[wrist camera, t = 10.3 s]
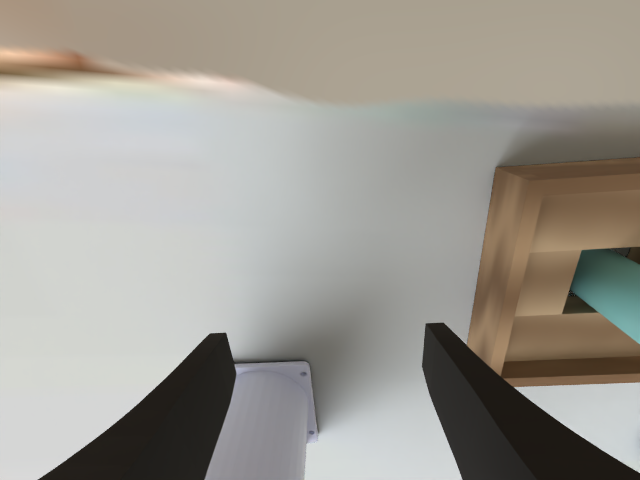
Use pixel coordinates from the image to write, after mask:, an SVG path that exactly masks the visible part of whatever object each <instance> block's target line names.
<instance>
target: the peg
mask: <svg viewBox="0 0 640 480" xmlns="http://www.w3.org/2000/svg"><path fill="white" fill-rule="evenodd" d="M569 290H571V291H572V292H573V293H574V294H576V295H577V296H578V297H580V298H581V299H582V300H583V301H585V302H586V303H587V304H589V305H590V306H591V307H592V308H594V309H595V310H596V311H598V312H599V313H600V314H601V315H603V316H604V317H605V318H607V319H608V320H609V321H610V322H612V323H613V324H614V325H616V326H617V327H618V328H619V329H621V330H622V331H623V332H624V333H626V334H627V335H628V336H630V337H631V338H632V339H633V340H635V341H636V342H637V343H639V344H640V264H638V263H636V262H634V261H632V260H630V259H628V258H626V257H624V256H622V255H621V254H619V253H617V252H615V251H613V250H611V249H609V248H606V249H588V250H582V251H581V254H580V257H579V260H578V264H577V267H576V270H575V273H574V276H573V280H572V283H571V286H570V289H569Z"/></svg>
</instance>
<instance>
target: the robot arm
mask: <svg viewBox="0 0 640 480" xmlns="http://www.w3.org/2000/svg"><path fill="white" fill-rule="evenodd" d="M422 368H423V372H424V375H425V379H426V383H427V387H428V390H429V394H430V397H431V399H432V402H433V405H434V407H435V410H436V412H437V415H438V417H439V420H440V422H441V425H442V427H443V430H444V432H445V435H446V437H447V440H448V443H449V445H450V448H451V450H452V453H453V455H454V458H455V460H456V463H457V465H458V468H459V471H460V474H461V477H462V479H463V480H640V473H638V472H637V471H635V470H633V469H632V468H630V467H628V466H627V465H625V464H623V463H622V462H620V461H618V460H617V459H615V458H613V457H612V456H610V455H609V454H607V453H605V452H604V451H602V450H601V449H599V448H598V447H596V446H595V445H593V444H591V443H590V442H588V441H587V440H585V439H584V438H582V437H581V436H579V435H578V434H576V433H575V432H573V431H572V430H570V429H569V428H567V427H566V426H564V425H563V424H561V423H560V422H559V421H557V420H556V419H554V418H553V417H552V416H550V415H549V414H548V413H546V412H545V411H544V410H542V409H541V408H539V407H538V406H537V405H535V404H534V403H533V402H531V401H530V400H529V399H528V398H526V397H525V396H524V395H522V394H521V393H520V392H519V391H517V390H516V389H515V388H514V387H513V386H511V385H510V384H509V383H508V382H507V381H505V380H504V379H503V378H502V377H501V376H500V375H498V374H497V373H496V372H495V371H494V370H493V369H492V368H491V367H489V366H488V365H487V364H486V363H485V362H484V361H483V360H482V359H481V358H480V357H478V356H477V355H476V354H475V353H474V352H473V351H472V350H471V349H470V348H469V347H468V346H467V345H466V344H465V343H464V342H463V341H462V340H461V339H460V338H459V337H458V336H457V335H456V334H455V333H454V332H453V331H452V330H450V329H449V328H448V327H447V326H446V325H445V324H444V323H426V327H425V338H424V350H423V362H422ZM303 372H305V373H303ZM317 441H318V431H317V423H316V415H315V406H314V398H313V390H312V382H311V373H310V366H309V364H308V363H307V362H305V361H298V362H273V363H249V364H234V361H233V358H232V354H231V350H230V346H229V342H228V338H227V334H226V333H211V334H209V335H208V336H207V337H206V338H205V339H204V340H203V341H202V342H201V343H200V344H199V345H198V346H197V347H196V348H195V349H194V350H193V351H192V352H191V353H190V354H189V355H188V356H187V357H186V358H185V359H184V360H183V362H182V363H181V364H180V365H179V366H178V367H177V368H176V369H175V370H174V371H173V372H172V373H171V374H170V375H169V376H168V377H167V378H166V379H164V380H163V381H162V382H161V383H160V384H159V385H158V386H157V387H156V388H155V389H154V390H153V391H152V392H150V393H149V394H148V395H147V396H146V397H145V398H144V399H143V400H142V401H141V402H140V403H139V404H137V405H136V406H135V407H134V408H133V409H132V410H131V411H129V412H128V413H127V414H126V415H125V416H124V417H122V418H121V419H120V420H119V421H117V422H116V423H115V424H114V425H112V426H111V427H110V428H109V429H107V430H106V431H105V432H104V433H102V434H101V435H100V436H99V437H97V438H96V439H95V440H93V441H92V442H90V443H89V444H88V445H86V446H85V447H84V448H82V449H81V450H80V451H78V452H77V453H75V454H74V455H73V456H71V457H70V458H69V459H67V460H66V461H65V462H63V463H62V464H60V465H59V466H57V467H56V468H55V469H53V470H52V471H50V472H49V473H47V474H46V475H44V476H43V477H41V478H40V479H38V480H304V478H305V461H306V444H307V443H315V442H317Z"/></svg>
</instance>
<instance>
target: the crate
mask: <svg viewBox="0 0 640 480" xmlns="http://www.w3.org/2000/svg"><path fill="white" fill-rule="evenodd" d="M624 247H631V249H630V251H629V254H628V256H627V258H628V259H630V260H632V261H634V262H636V263H638V264H640V157H637V158H623V159H608V160H594V161H580V162H565V163H551V164H537V165H523V166H508V167H496V169H495V175H494V181H493V187H492V193H491V200H490V206H489V212H488V218H487V224H486V231H485V237H484V243H483V249H482V255H481V261H480V268H479V274H478V280H477V286H476V292H475V299H474V305H473V311H472V317H471V323H470V329H469V336H468V342H467V346H468V347H469V348H470V349H471V350H472V351H473V352H474V353H475V354H476V355H477V356H478V357H480V358H481V359H482V360H483V361H484V362H485V363H486V364H487V365H488V366H489V367H491V368H492V369H493V370H494V371H495V372H496V373H497V374H498V375H500V376H501V377H502V378H503V379H504V380H505V381H507V382H508V383H509V384H510V385H511V386H513V387H525V386H552V385H580V384H608V383H635V382H640V344H639V343H637V342H636V341H635V340H633V339H632V338H631V337H630V336H628V335H627V334H626V333H624V332H623V331H622V330H621V329H619V328H618V327H617V326H616V325H614V324H613V323H612V322H610V321H609V320H608V319H607V318H605V317H604V316H603V315H601V314H600V313H599V312H598V311H596V310H595V309H594V308H592V307H591V306H590V305H589V304H587V303H586V302H585V301H583V300H582V299H581V298H580V297H578V296H568V292H569V289H570V286H571V283H572V280H573V276H574V273H575V270H576V267H577V264H578V260H579V257H580V254H581V251H582V250H588V249H606V248H624ZM567 296H568V297H567Z"/></svg>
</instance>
